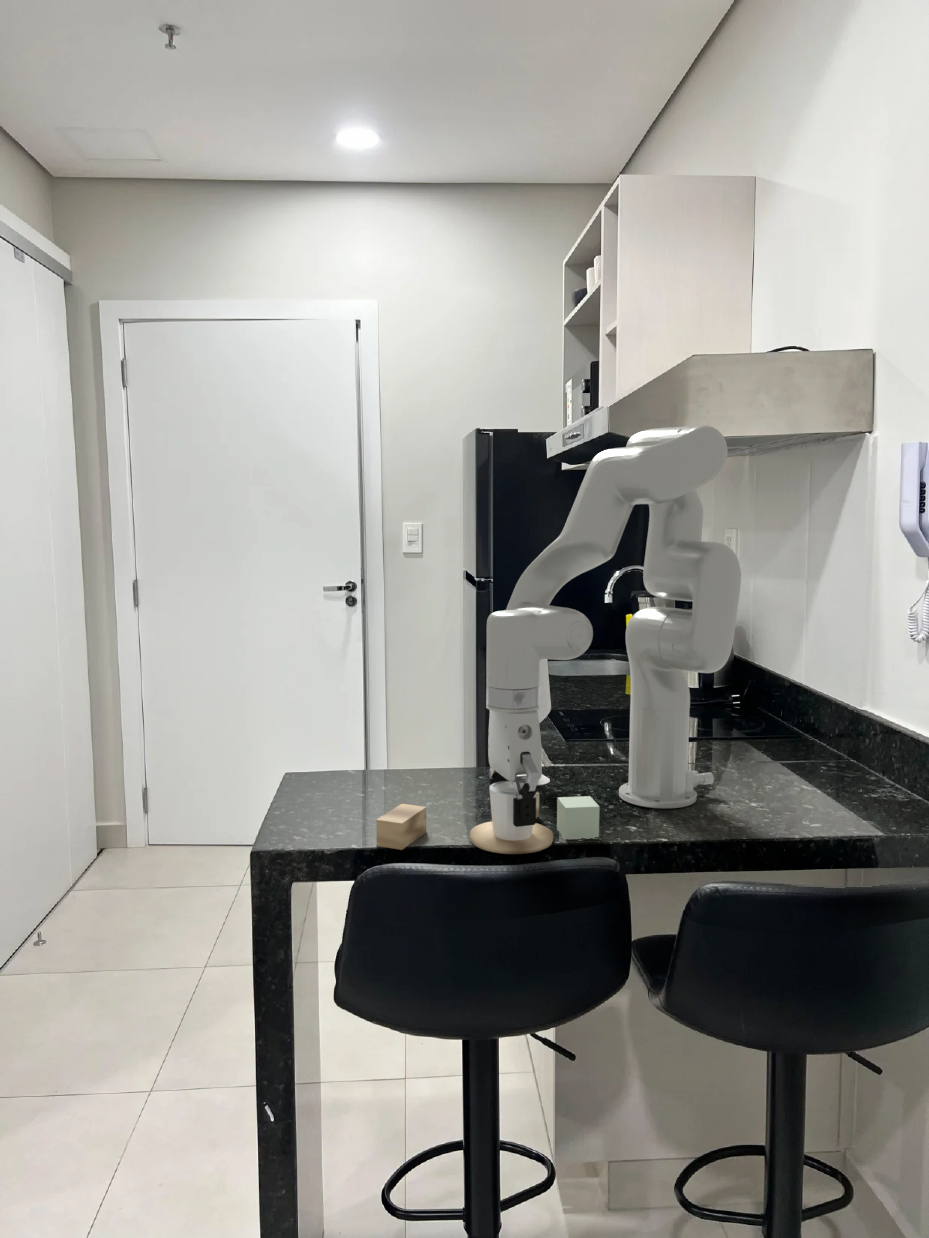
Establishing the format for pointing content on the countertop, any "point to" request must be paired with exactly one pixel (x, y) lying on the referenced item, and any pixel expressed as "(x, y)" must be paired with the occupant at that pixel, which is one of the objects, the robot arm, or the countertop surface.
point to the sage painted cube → (577, 817)
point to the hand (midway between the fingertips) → (511, 814)
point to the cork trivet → (487, 841)
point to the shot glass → (506, 813)
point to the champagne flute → (543, 702)
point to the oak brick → (401, 826)
